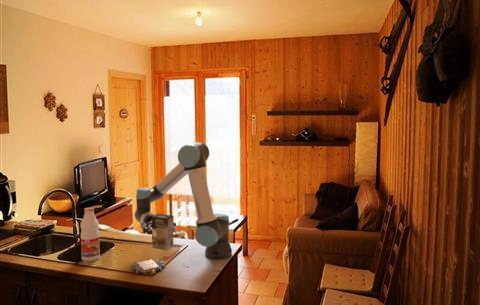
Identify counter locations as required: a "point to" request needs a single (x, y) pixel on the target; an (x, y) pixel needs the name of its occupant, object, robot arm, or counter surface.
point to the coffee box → (162, 231)
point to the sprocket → (147, 266)
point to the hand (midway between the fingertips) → (166, 232)
